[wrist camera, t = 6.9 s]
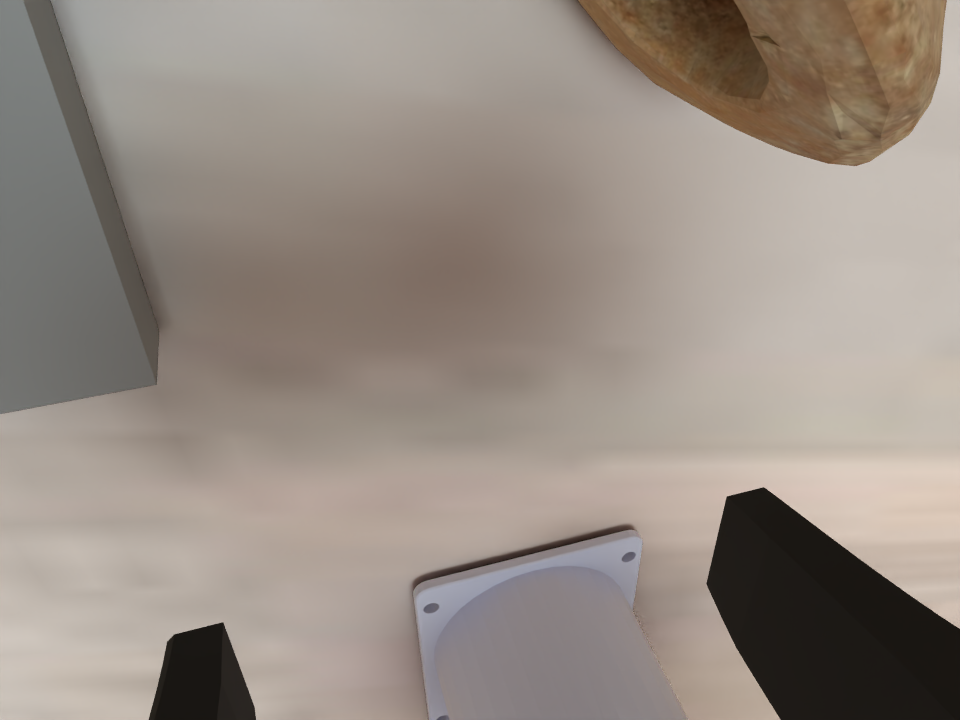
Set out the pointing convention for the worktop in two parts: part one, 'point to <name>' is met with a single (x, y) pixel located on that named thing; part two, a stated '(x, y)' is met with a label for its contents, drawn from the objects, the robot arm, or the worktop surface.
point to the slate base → (60, 235)
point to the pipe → (790, 65)
